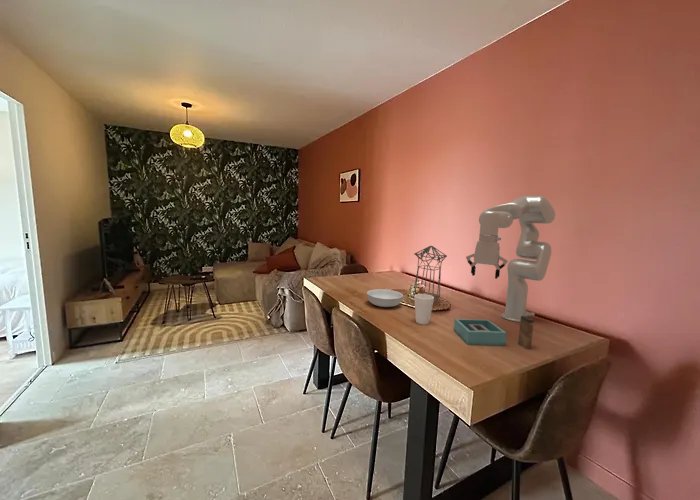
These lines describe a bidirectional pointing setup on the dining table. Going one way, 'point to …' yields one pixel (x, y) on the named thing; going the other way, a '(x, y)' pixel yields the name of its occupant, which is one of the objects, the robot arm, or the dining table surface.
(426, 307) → the foam cup
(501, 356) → the dining table surface
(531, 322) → the brown rectangular block
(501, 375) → the dining table surface
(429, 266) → the geometric lantern
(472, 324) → the teal shallow tray
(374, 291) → the serving bowl
